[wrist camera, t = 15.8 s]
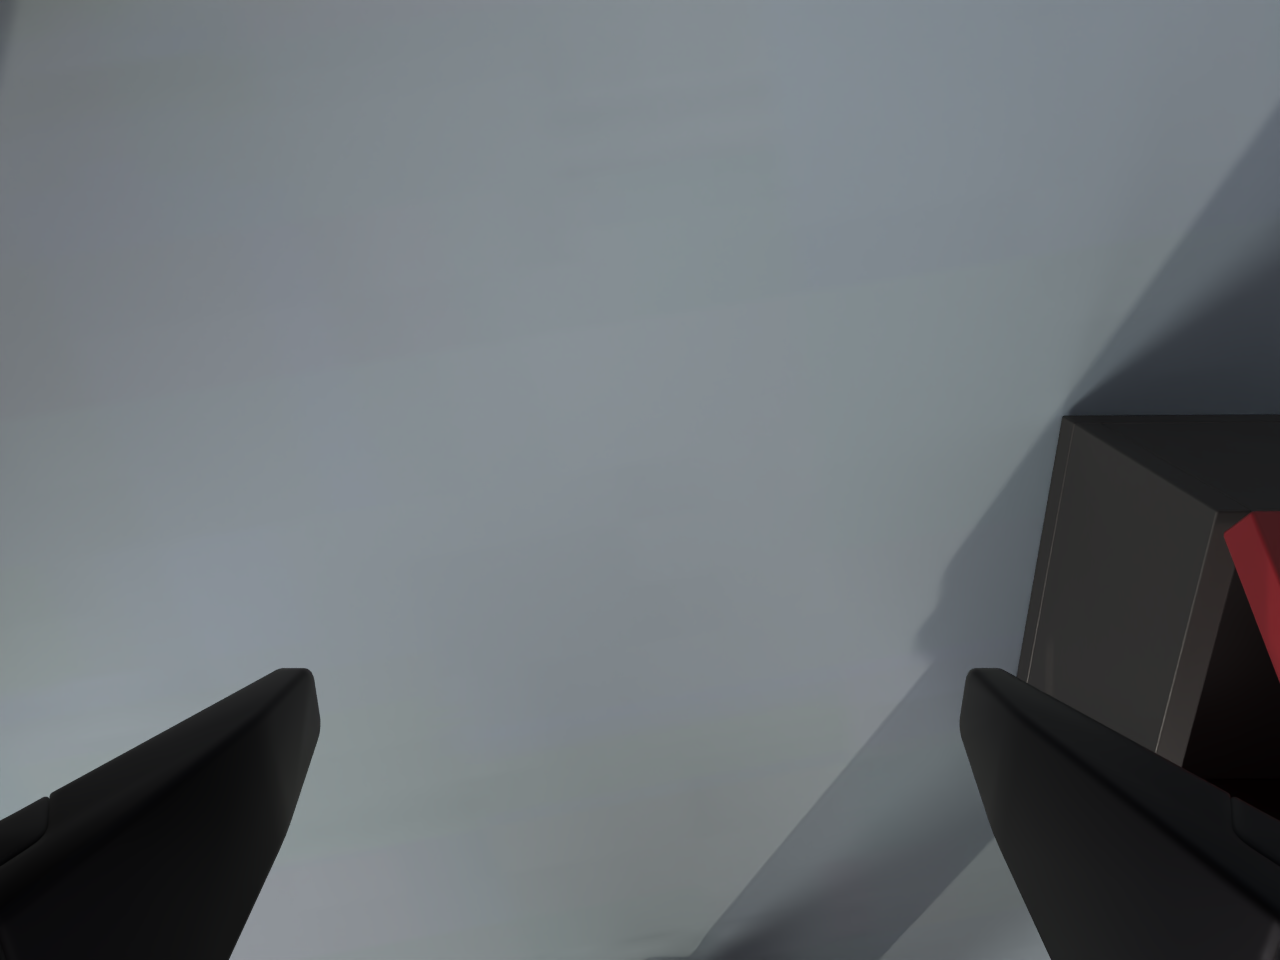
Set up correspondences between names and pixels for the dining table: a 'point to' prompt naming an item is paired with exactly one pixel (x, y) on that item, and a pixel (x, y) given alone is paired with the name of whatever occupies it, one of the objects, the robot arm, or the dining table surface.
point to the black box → (1160, 592)
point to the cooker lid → (1260, 572)
